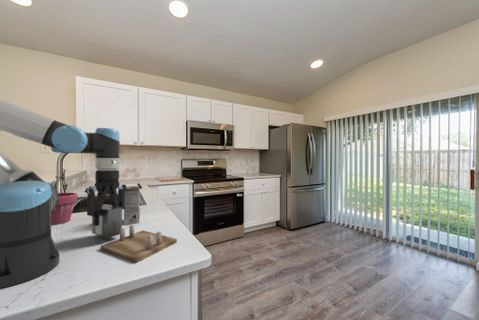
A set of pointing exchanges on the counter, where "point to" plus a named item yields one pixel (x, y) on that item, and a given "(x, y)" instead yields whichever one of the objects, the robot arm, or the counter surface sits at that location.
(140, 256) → the pin tray
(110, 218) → the grey square block
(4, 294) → the counter surface
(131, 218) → the coffee box
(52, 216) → the plant pot
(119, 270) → the counter surface
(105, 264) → the counter surface
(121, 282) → the counter surface
